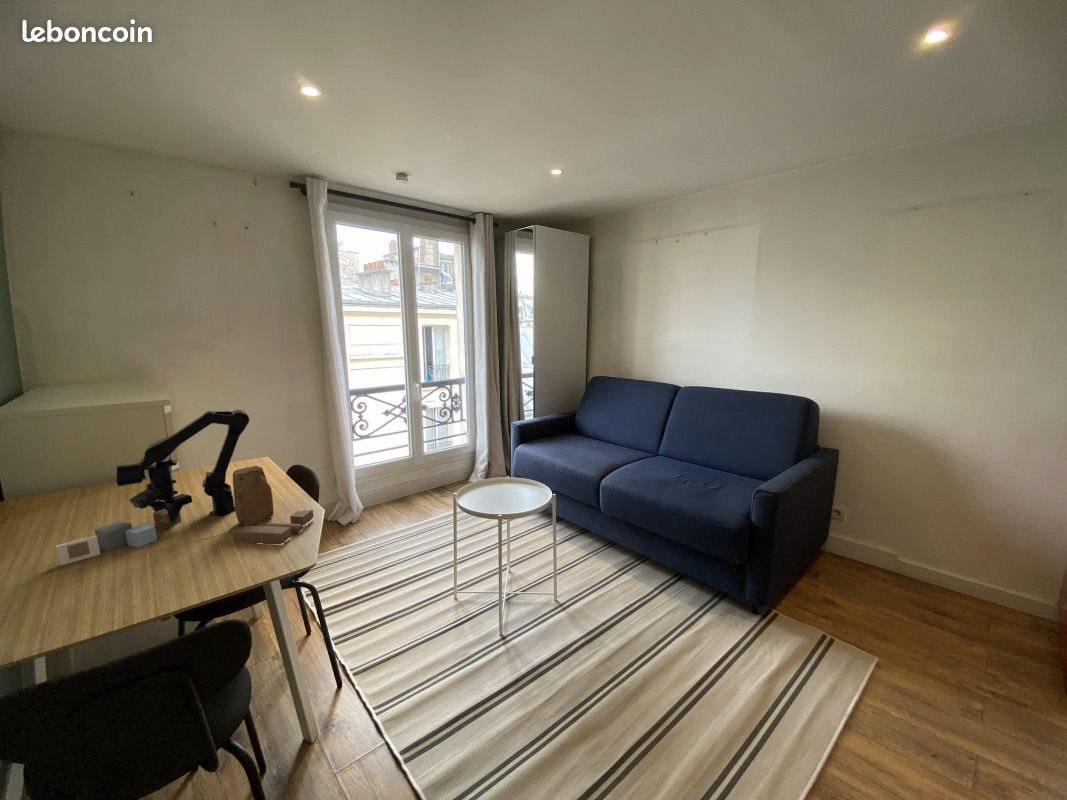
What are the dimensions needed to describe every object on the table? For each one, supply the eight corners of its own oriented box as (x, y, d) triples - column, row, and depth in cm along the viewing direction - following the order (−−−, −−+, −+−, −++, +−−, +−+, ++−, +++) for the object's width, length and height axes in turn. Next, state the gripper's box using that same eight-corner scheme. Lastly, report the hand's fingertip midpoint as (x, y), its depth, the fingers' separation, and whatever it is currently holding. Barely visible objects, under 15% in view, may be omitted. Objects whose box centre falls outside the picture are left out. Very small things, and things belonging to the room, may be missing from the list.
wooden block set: (283, 531, 128) (230, 528, 129) (285, 547, 129) (232, 544, 130) (315, 507, 144) (268, 505, 146) (316, 521, 146) (269, 519, 147)
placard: (60, 564, 117) (56, 545, 116) (100, 553, 123) (96, 535, 122) (60, 566, 116) (55, 547, 115) (100, 554, 122) (96, 536, 121)
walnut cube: (181, 521, 143) (179, 508, 142) (165, 528, 138) (163, 515, 137) (171, 519, 144) (169, 506, 144) (155, 526, 140) (152, 512, 139)
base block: (134, 540, 130) (131, 523, 129) (110, 550, 125) (107, 532, 124) (121, 537, 132) (118, 520, 131) (98, 547, 126) (94, 529, 125)
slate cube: (157, 540, 131) (154, 525, 130) (138, 547, 126) (136, 533, 125) (146, 537, 132) (144, 523, 132) (127, 545, 128) (125, 530, 127)
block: (239, 529, 138) (232, 475, 135) (236, 522, 144) (229, 469, 140) (276, 519, 146) (270, 467, 142) (271, 512, 151) (265, 462, 147)
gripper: (113, 484, 133) (121, 527, 136) (152, 491, 128) (160, 536, 131) (152, 473, 144) (159, 513, 147) (190, 479, 139) (196, 521, 142)
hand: (167, 521), depth 141 cm, fingers open, 5 cm apart
